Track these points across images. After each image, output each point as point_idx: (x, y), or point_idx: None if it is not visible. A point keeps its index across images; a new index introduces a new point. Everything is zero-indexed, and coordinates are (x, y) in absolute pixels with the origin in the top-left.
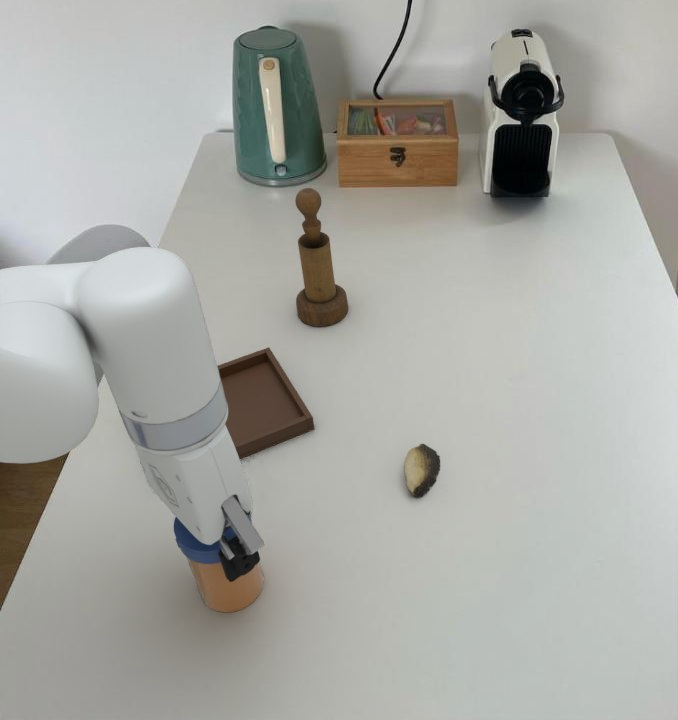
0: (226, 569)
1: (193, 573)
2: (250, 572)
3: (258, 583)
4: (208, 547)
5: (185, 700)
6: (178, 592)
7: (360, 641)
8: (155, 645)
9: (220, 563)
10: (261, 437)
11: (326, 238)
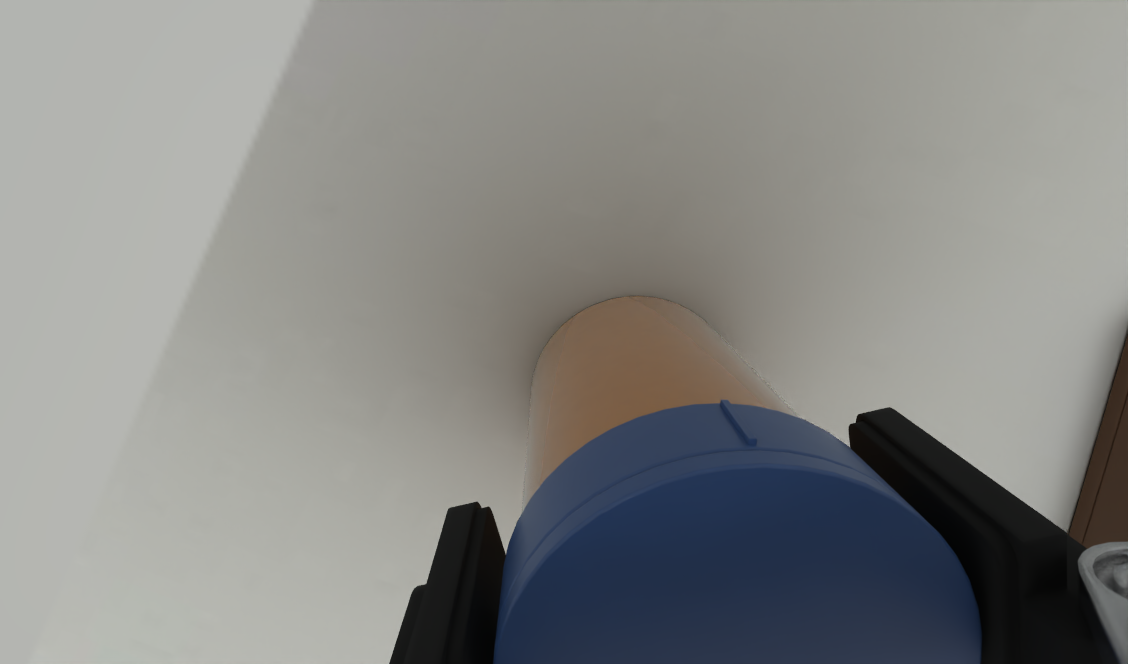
0: (431, 577)
1: (644, 350)
2: None
3: None
4: (539, 614)
5: (309, 128)
6: (702, 233)
7: (277, 621)
8: (550, 98)
9: None
10: None
11: None
